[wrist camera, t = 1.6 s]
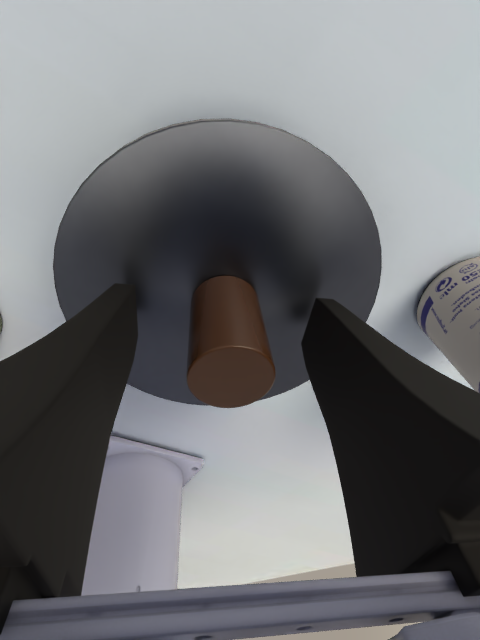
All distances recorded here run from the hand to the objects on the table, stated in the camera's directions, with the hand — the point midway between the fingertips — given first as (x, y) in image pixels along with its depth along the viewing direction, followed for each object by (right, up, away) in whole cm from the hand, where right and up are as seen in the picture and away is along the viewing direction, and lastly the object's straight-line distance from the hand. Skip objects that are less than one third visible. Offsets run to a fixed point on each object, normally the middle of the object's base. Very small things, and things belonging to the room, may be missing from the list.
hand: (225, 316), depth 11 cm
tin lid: (0, +1, +1) cm, 1 cm away
